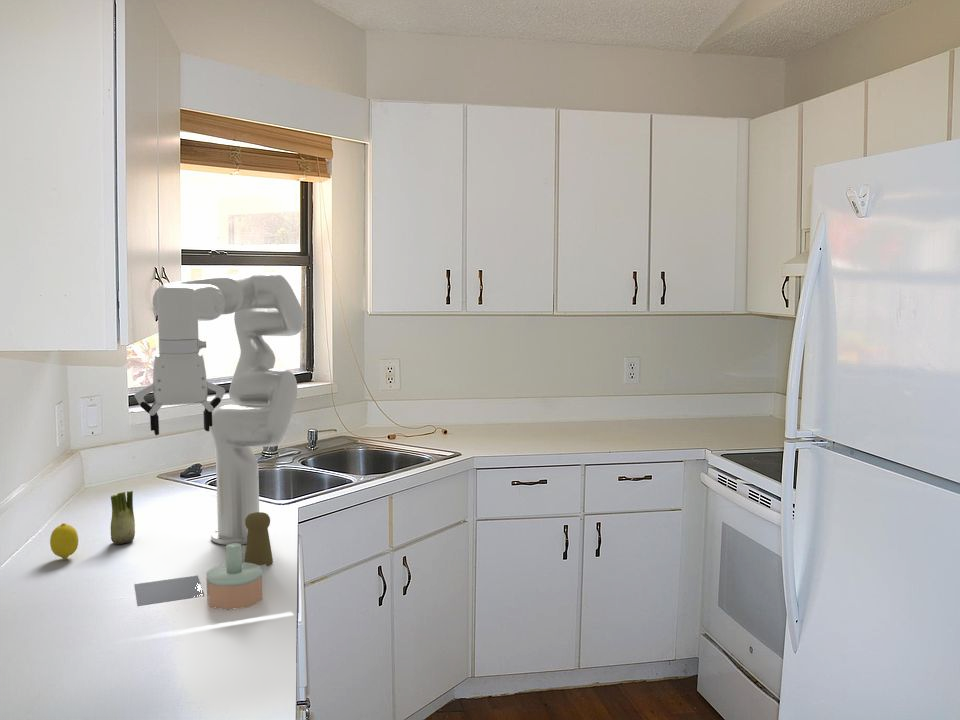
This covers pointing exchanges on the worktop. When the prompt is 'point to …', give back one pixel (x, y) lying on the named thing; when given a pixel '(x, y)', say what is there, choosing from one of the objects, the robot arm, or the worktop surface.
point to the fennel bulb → (122, 518)
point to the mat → (167, 590)
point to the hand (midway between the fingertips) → (182, 432)
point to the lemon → (64, 541)
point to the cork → (258, 539)
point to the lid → (234, 569)
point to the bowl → (234, 595)
